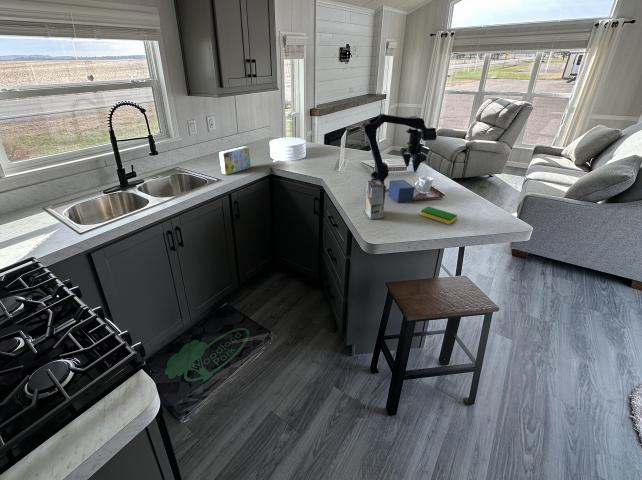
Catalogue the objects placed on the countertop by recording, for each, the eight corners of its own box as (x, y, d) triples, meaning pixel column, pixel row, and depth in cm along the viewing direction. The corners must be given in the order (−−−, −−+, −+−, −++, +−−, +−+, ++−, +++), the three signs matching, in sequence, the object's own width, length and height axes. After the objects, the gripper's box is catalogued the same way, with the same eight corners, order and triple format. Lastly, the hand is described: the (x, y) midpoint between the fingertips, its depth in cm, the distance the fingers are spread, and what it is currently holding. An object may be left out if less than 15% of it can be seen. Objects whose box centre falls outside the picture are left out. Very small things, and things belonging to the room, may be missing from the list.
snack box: (246, 166, 234) (244, 145, 228) (250, 167, 231) (249, 146, 225) (221, 173, 221) (218, 151, 215) (225, 175, 217) (223, 153, 211)
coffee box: (383, 218, 153) (386, 186, 146) (370, 219, 152) (372, 187, 146) (377, 210, 161) (379, 179, 154) (364, 211, 161) (366, 180, 154)
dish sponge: (427, 210, 159) (428, 205, 158) (456, 219, 150) (457, 214, 149) (419, 215, 155) (420, 210, 154) (449, 224, 145) (450, 219, 144)
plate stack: (273, 151, 272) (273, 137, 267) (307, 151, 268) (307, 137, 264) (267, 160, 247) (266, 145, 242) (304, 160, 243) (303, 145, 238)
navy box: (398, 203, 168) (399, 188, 165) (387, 194, 180) (389, 180, 176) (443, 199, 170) (446, 185, 167) (430, 190, 182) (432, 177, 179)
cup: (434, 194, 173) (436, 179, 170) (417, 196, 170) (419, 181, 167) (425, 189, 179) (427, 175, 176) (409, 191, 177) (411, 177, 173)
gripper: (438, 144, 166) (433, 173, 173) (420, 136, 183) (416, 163, 190) (417, 145, 165) (413, 174, 172) (401, 137, 182) (398, 164, 189)
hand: (411, 169), depth 180 cm, fingers open, 9 cm apart
